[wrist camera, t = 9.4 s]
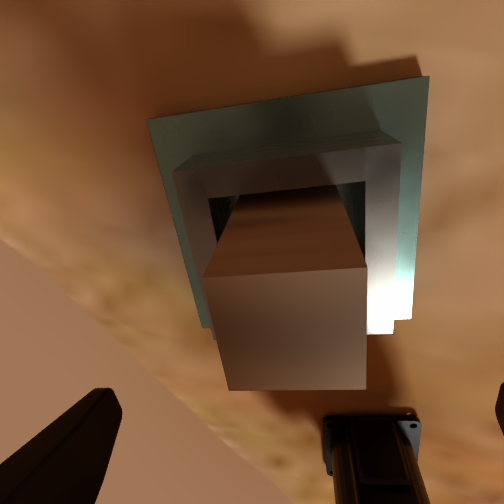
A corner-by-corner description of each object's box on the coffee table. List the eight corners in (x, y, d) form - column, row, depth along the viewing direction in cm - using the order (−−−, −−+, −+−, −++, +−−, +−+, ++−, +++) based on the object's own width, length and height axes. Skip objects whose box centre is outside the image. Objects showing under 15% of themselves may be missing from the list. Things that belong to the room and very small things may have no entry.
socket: (406, 309, 19) (431, 361, 16) (205, 319, 21) (187, 367, 18) (422, 76, 14) (465, 75, 11) (152, 118, 16) (113, 129, 12)
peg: (337, 264, 18) (366, 389, 11) (254, 269, 18) (228, 390, 11) (334, 181, 16) (367, 267, 9) (241, 191, 16) (201, 277, 9)
